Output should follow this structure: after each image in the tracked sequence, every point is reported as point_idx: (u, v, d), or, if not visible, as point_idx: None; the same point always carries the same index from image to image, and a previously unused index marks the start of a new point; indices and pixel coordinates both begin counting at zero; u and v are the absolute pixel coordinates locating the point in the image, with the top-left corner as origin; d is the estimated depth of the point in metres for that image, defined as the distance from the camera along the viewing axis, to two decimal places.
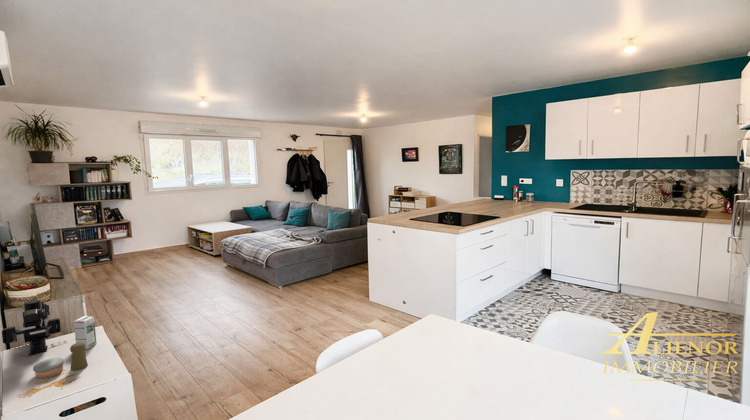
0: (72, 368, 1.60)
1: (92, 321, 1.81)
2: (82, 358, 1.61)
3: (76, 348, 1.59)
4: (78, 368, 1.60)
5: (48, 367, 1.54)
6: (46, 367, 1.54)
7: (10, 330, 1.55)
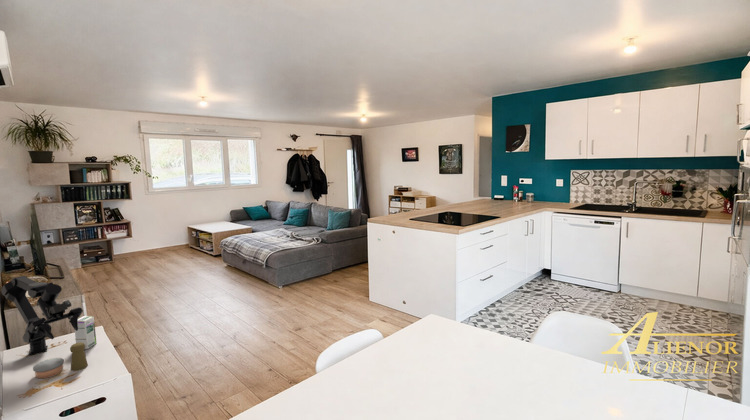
0: (72, 368, 1.60)
1: (92, 321, 1.81)
2: (82, 358, 1.61)
3: (76, 348, 1.59)
4: (78, 368, 1.60)
5: (48, 367, 1.54)
6: (46, 367, 1.54)
7: (42, 325, 1.58)
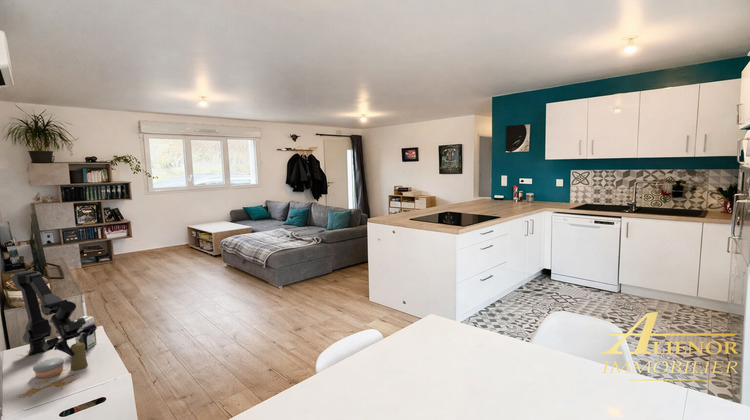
0: (72, 368, 1.60)
1: (92, 321, 1.81)
2: (82, 358, 1.61)
3: (76, 348, 1.59)
4: (78, 368, 1.60)
5: (48, 367, 1.54)
6: (46, 367, 1.54)
7: (62, 342, 1.57)
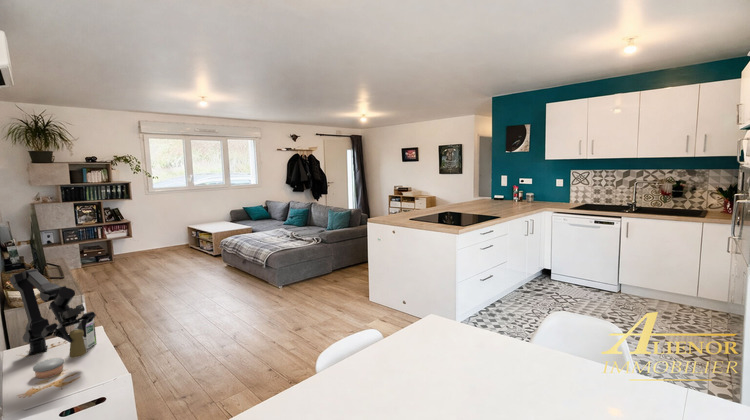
0: (71, 355, 1.59)
1: (92, 321, 1.81)
2: (81, 345, 1.60)
3: (75, 334, 1.58)
4: (77, 355, 1.59)
5: (48, 367, 1.54)
6: (46, 367, 1.54)
7: (61, 328, 1.56)
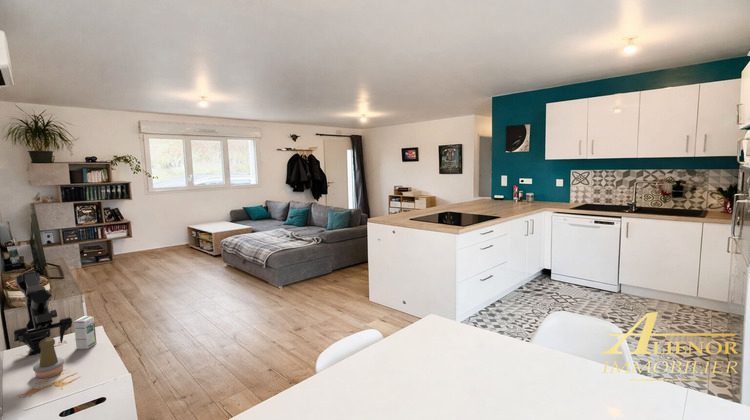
0: (40, 364, 1.55)
1: (92, 321, 1.81)
2: (49, 355, 1.55)
3: (43, 344, 1.54)
4: (44, 365, 1.54)
5: (48, 367, 1.54)
6: (46, 367, 1.54)
7: (24, 335, 1.51)
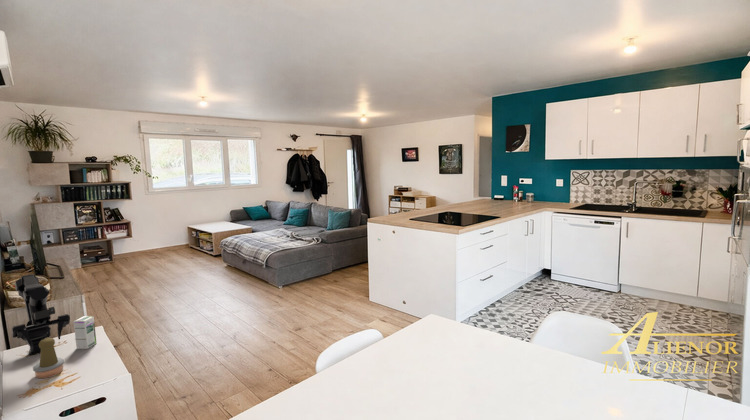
0: (40, 364, 1.55)
1: (92, 321, 1.81)
2: (49, 355, 1.55)
3: (43, 344, 1.54)
4: (44, 365, 1.54)
5: (48, 367, 1.54)
6: (46, 367, 1.54)
7: (22, 331, 1.54)
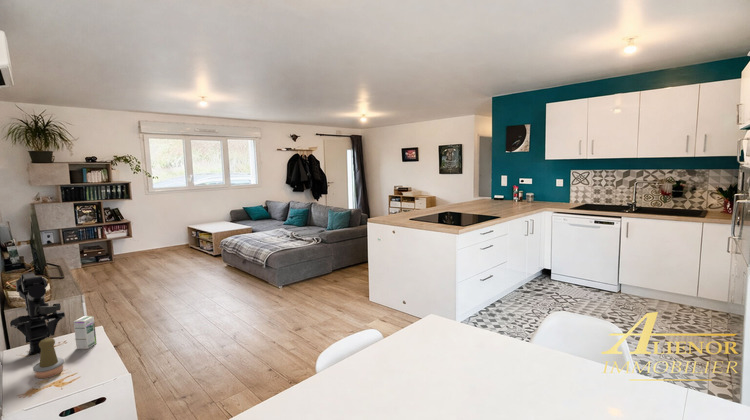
0: (40, 364, 1.55)
1: (92, 321, 1.81)
2: (49, 355, 1.55)
3: (43, 344, 1.54)
4: (44, 365, 1.54)
5: (48, 367, 1.54)
6: (46, 367, 1.54)
7: (27, 323, 1.57)
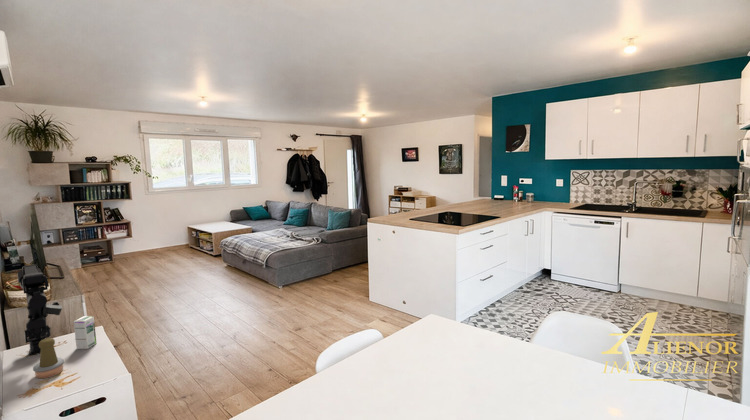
0: (40, 364, 1.55)
1: (92, 321, 1.81)
2: (49, 355, 1.55)
3: (43, 344, 1.54)
4: (44, 365, 1.54)
5: (48, 367, 1.54)
6: (46, 367, 1.54)
7: None
